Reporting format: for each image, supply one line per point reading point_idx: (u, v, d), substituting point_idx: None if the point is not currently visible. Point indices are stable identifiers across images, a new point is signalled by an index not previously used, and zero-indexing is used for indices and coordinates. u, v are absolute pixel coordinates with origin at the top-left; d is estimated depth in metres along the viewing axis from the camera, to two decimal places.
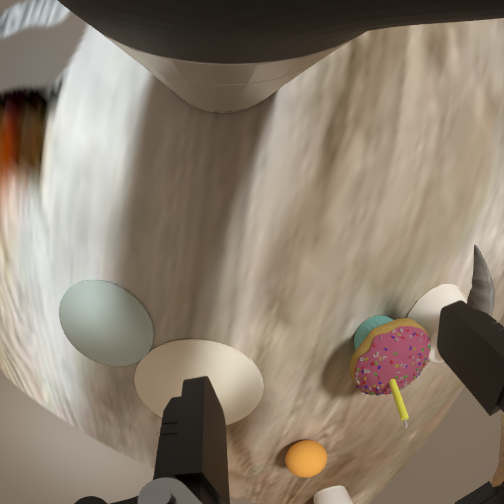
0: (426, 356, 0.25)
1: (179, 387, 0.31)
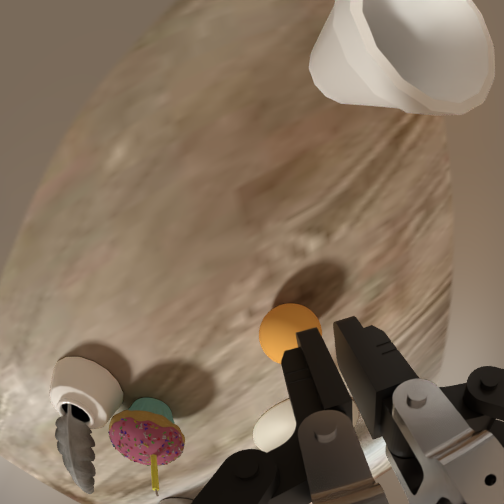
0: (117, 446, 0.26)
1: None
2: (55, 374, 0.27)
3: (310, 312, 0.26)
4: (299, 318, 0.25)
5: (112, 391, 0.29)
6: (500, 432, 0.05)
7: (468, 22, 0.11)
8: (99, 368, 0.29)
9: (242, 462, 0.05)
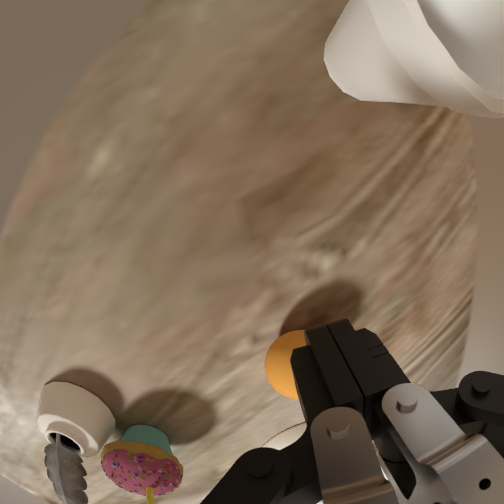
0: (110, 476, 0.22)
1: None
2: (42, 400, 0.24)
3: None
4: None
5: (103, 420, 0.25)
6: (494, 436, 0.05)
7: None
8: (88, 395, 0.26)
9: (255, 460, 0.05)
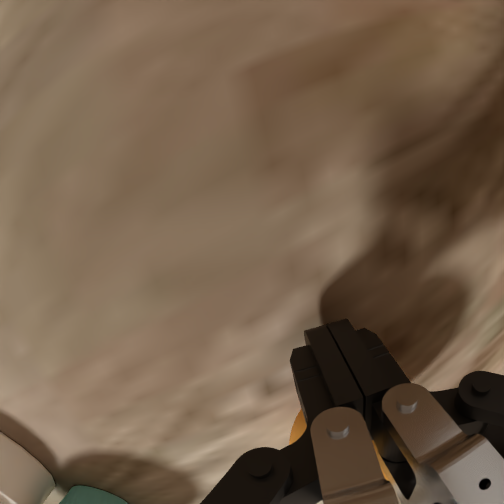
0: None
1: None
2: None
3: None
4: None
5: (31, 479, 0.12)
6: (494, 436, 0.05)
7: None
8: (7, 443, 0.12)
9: (255, 460, 0.05)
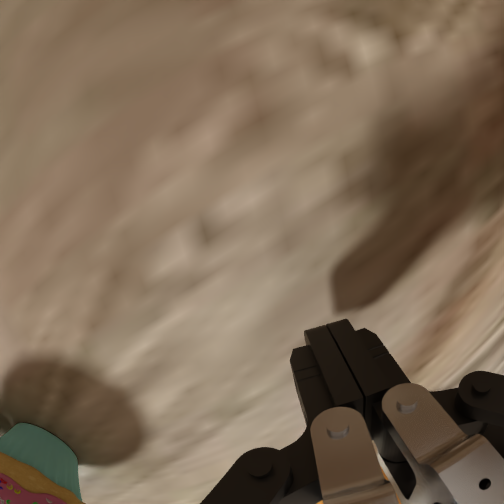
0: None
1: None
2: None
3: None
4: None
5: None
6: (494, 436, 0.05)
7: None
8: None
9: (255, 460, 0.05)
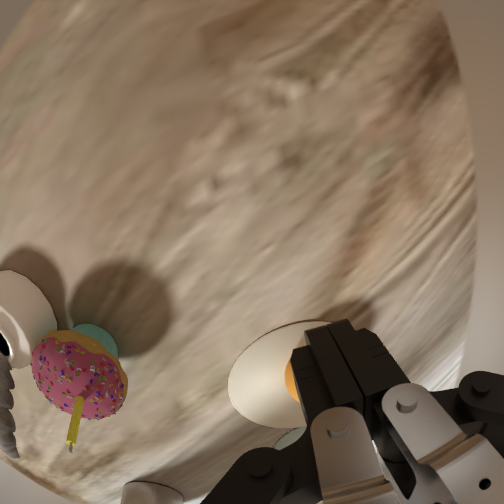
0: (38, 383, 0.19)
1: None
2: None
3: None
4: None
5: (41, 316, 0.22)
6: (494, 436, 0.05)
7: None
8: (30, 285, 0.22)
9: (255, 460, 0.05)
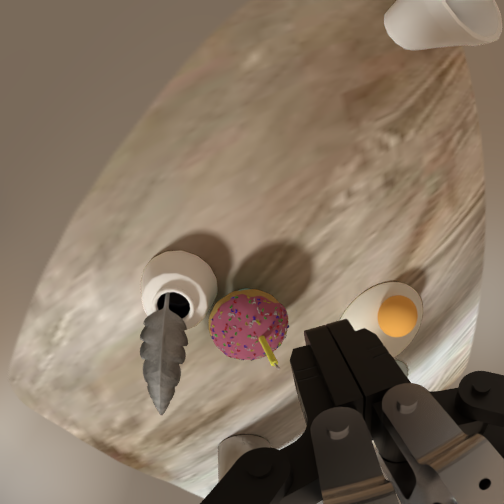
0: (221, 333, 0.32)
1: (388, 335, 0.41)
2: (153, 267, 0.33)
3: None
4: (397, 295, 0.38)
5: (213, 285, 0.35)
6: (494, 436, 0.05)
7: None
8: (202, 261, 0.35)
9: (255, 460, 0.05)
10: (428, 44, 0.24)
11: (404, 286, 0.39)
